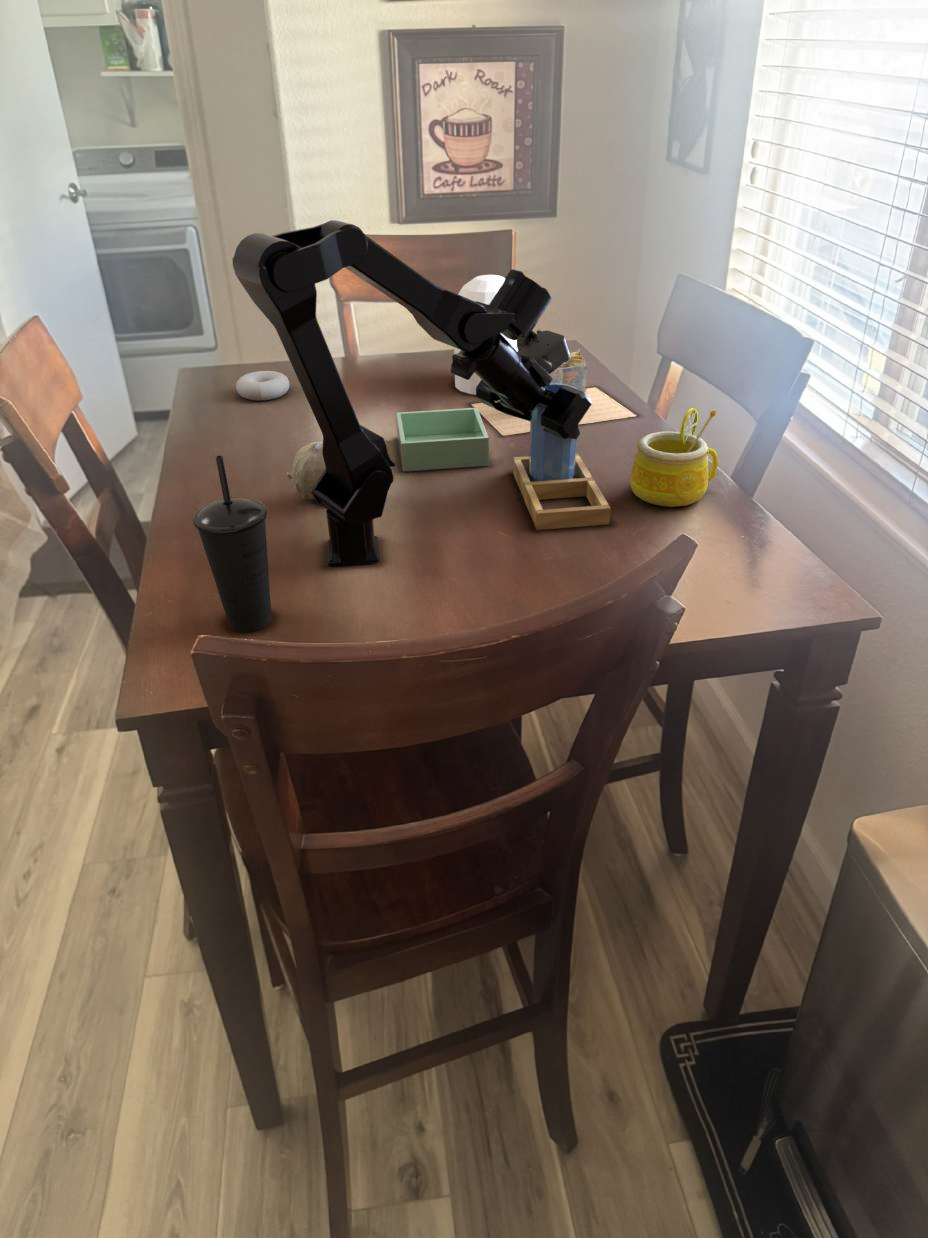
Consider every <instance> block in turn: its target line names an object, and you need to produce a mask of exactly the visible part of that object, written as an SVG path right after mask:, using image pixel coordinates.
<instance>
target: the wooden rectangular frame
mask: <svg viewBox="0 0 928 1238" xmlns="http://www.w3.org/2000/svg"><path fill="white" fill-rule="evenodd" d="M512 474H513V476H514V479H515V481H516V484H517V487H518V489H519V492H520V494H521V496H522V498H523V500H524V504H525V505H526V508H527V510H528V513H529V515H530V517H531V520H532V522H533V524H534V527H535V530H536V531H542V530H543V531H544V530H554V529H556V530H557V529H567V528H580V527H581V528H582V527H594V526H606V525H610V521H611V506H610V505H609V503H608V501H607V500H606V498H605V495H603V493H602V491H601V489H600V488H599V486H598V485H597V482H596V481H595V480H594V478H593V476H592V474H591V473H590V471H589V470H588V468H587V466H586V464H585V462H584V461H583V460H582V457H581V456H580V454H579V453H578V452H576V460H575V473H574V479H563V480H549V481H535V482H532V481H531V480H530V478H529V455H527V456H515V457H514V456H513V457H512ZM582 497H584V498H585V497H586V499H587V500H588V502H589V504H590V505H587V506H574V507H565V508H564V507H561V508H547V509H543V506H542V504H541V502H540V501H541V500H553V499H554V500H555V499H567V498H569V499H570V498H582Z"/></svg>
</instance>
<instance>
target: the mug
mask: <svg viewBox="0 0 928 1238" xmlns="http://www.w3.org/2000/svg"><path fill="white" fill-rule="evenodd" d="M698 413H699V412H698V410H697V409H696V408H693V407H691V408H689V409H688V410H687V412H686V413H685V415H684V416H683V418H682V421H681V426H680V431H673V430H671V431H669V430H666V431H657V432H653V433H648V434H647V435H645V436H643V437H642V438H640V439H639V441H638V442H637V444H636V448H637V452H636V454H635V456H634V460H633V464H632V468H631V473H630V479H629V480H630V483H629V484H630V488H631V491H632V493H633V494H634V495H635V496H636V497H637V498H639V499H640V500H642V501H644V502H645V503H648V504H651V505H656V506H660V507H666V508H667V507H668V508H677V507H685V506H689V505H692V504H694V503H696V502H698V501H701V499H703V497H704V496H705V495H706V494H705V493H706V492H707V490H708V485H709V482H710V481H712V480H713V479H714V478H715V476H716V474H717V471H718V465H719V463H718V461H719V460H718V459H719V458H718V453H717V451H715V449H713V448H711V447H709V445H708V444H707V443H706V441H705V440H704V439H702V438H701V436H702V435H703V433H704V432H705V430H706V428H707V426H708V425H709V423H710V421H711V420H712V418H714V417H716V415H717V411H716V410H715V409H713V410H711V411H710V412H709V417H708V418H707V420H706V421H705V424H704V425H703V426H702V428H701V430H700V431H699V433H698V434H697V436H696V435H695V434H696V431H697V429H698V422H699V414H698ZM691 419H692V421H691ZM686 424H687V425H686ZM691 428H692V429H691ZM708 454H709V455H710V456H711V468H710V472H709V457H708Z"/></svg>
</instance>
